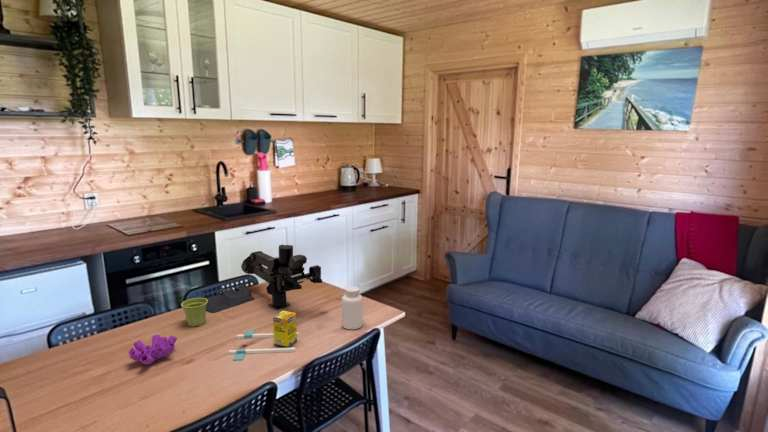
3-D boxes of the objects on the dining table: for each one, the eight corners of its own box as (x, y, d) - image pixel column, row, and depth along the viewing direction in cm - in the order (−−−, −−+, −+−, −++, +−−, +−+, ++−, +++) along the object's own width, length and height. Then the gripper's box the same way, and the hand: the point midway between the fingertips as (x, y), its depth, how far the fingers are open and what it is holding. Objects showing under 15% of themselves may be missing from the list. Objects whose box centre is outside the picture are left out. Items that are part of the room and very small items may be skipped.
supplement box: (288, 349, 146) (287, 319, 144) (273, 345, 148) (272, 316, 146) (297, 341, 152) (296, 312, 149) (283, 338, 154) (282, 310, 151)
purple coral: (129, 375, 136) (120, 347, 138) (177, 356, 147) (167, 331, 149) (138, 366, 129) (128, 337, 131) (187, 347, 140) (177, 320, 142)
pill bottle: (366, 323, 166) (366, 287, 163) (356, 331, 159) (356, 294, 156) (348, 319, 169) (348, 283, 166) (338, 327, 162) (337, 290, 159)
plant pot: (177, 326, 162) (175, 305, 160) (196, 316, 171) (194, 296, 169) (196, 330, 159) (194, 309, 157) (214, 320, 167) (213, 299, 166)
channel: (225, 360, 138) (225, 357, 138) (240, 332, 158) (240, 329, 158) (293, 357, 140) (293, 354, 140) (299, 329, 160) (299, 327, 160)
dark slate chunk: (193, 305, 182) (192, 295, 181) (239, 290, 199) (239, 281, 198) (212, 315, 173) (211, 304, 172) (258, 299, 189) (258, 289, 188)
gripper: (268, 258, 163) (290, 270, 152) (309, 249, 175) (332, 259, 165) (269, 285, 166) (290, 298, 155) (309, 274, 178) (331, 286, 167)
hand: (311, 284), depth 160 cm, fingers open, 9 cm apart
